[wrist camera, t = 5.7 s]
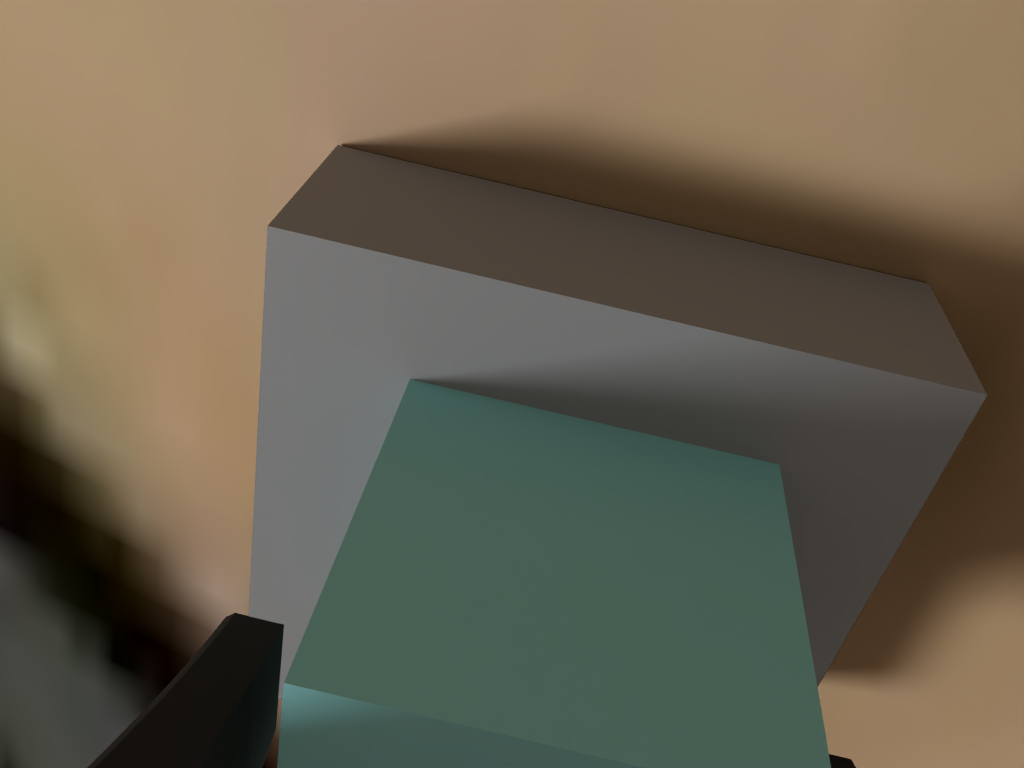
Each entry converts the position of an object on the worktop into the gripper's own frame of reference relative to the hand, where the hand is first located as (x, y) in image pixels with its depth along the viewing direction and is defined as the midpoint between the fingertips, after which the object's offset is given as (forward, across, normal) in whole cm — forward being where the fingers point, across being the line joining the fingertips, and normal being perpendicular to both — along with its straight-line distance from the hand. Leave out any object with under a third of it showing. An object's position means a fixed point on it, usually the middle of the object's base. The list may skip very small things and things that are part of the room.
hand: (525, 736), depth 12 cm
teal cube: (+3, 0, 0) cm, 3 cm away
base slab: (+6, 0, 0) cm, 6 cm away
